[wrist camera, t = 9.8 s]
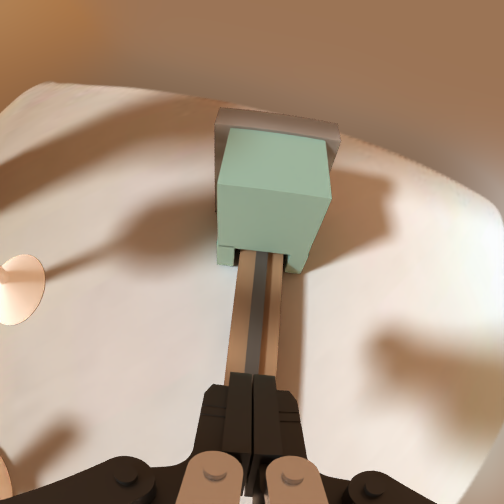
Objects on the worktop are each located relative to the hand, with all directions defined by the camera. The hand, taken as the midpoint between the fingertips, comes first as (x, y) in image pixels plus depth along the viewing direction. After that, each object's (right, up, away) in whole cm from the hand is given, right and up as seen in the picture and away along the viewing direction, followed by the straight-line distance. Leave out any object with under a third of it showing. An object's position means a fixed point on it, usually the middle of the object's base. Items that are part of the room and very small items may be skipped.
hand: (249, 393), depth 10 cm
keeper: (+1, +5, +15) cm, 16 cm away
